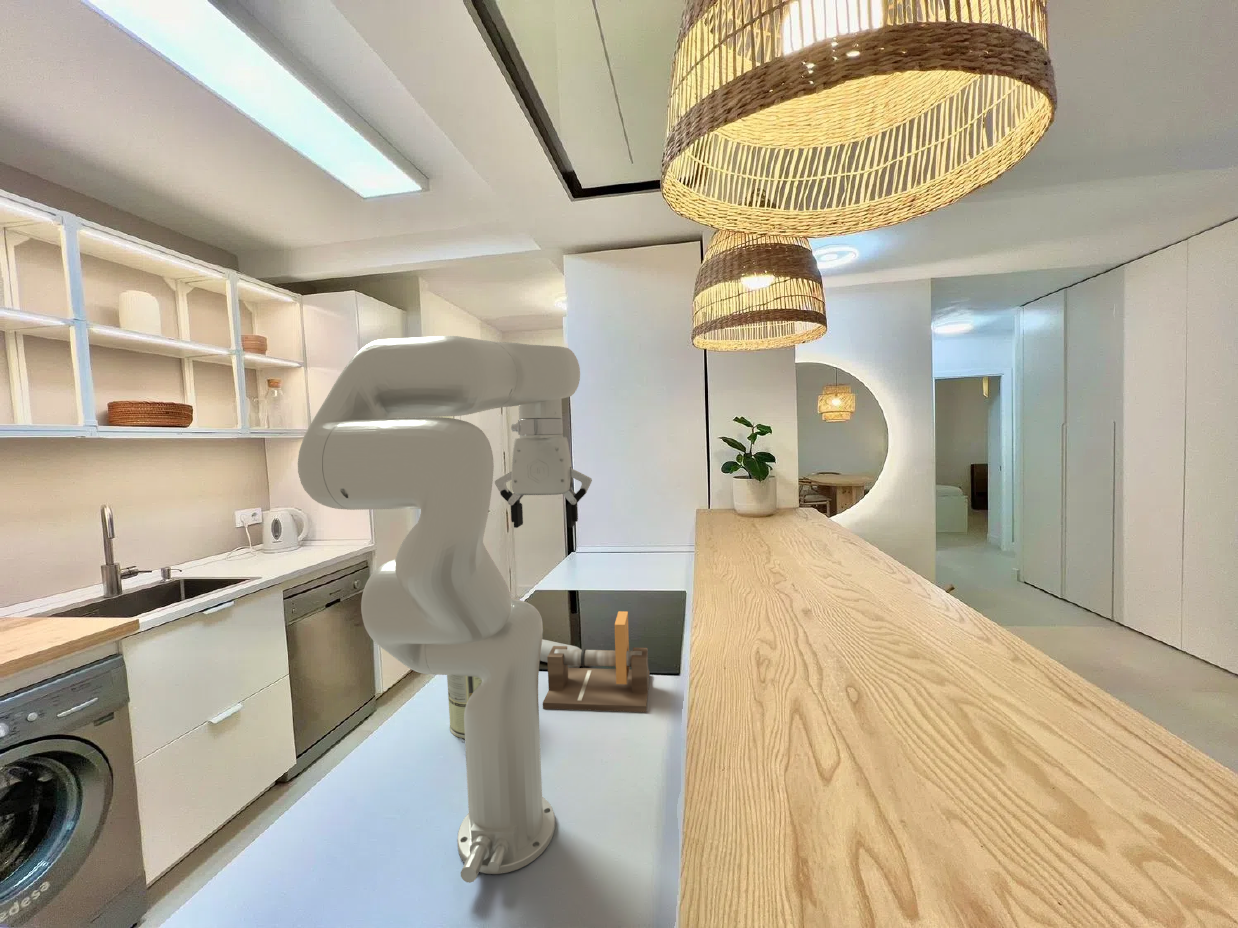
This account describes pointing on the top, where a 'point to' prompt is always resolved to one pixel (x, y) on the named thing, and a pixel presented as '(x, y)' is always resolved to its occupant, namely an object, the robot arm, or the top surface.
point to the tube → (548, 646)
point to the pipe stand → (596, 681)
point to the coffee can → (459, 700)
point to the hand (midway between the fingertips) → (544, 526)
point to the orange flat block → (621, 647)
